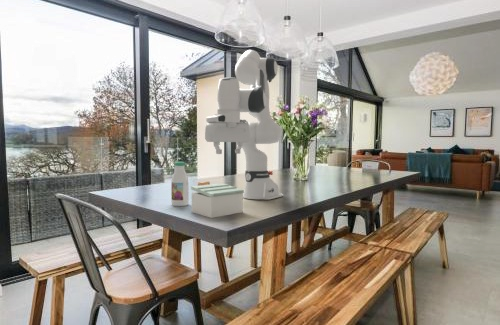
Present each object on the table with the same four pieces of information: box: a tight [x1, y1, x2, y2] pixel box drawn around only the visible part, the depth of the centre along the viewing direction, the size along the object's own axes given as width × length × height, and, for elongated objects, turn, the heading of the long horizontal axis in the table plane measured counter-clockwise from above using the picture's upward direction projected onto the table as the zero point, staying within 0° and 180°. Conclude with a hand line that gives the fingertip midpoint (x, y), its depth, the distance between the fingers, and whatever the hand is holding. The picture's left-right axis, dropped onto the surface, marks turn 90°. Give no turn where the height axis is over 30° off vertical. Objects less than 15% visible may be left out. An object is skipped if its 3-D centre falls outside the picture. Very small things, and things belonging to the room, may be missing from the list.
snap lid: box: [190, 181, 245, 197], centre depth 137 cm, size 16×19×2 cm
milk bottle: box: [170, 161, 190, 207], centre depth 151 cm, size 8×8×20 cm
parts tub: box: [191, 191, 244, 219], centre depth 136 cm, size 16×14×8 cm
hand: (228, 153), depth 129 cm, fingers open, 8 cm apart
